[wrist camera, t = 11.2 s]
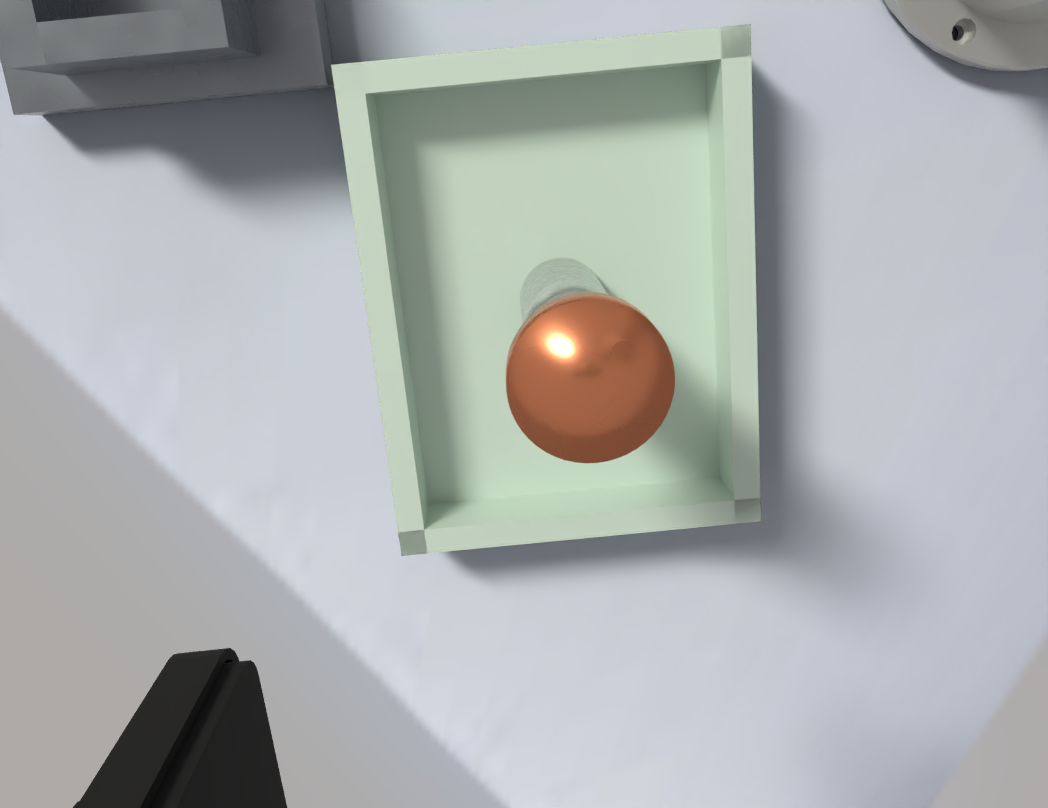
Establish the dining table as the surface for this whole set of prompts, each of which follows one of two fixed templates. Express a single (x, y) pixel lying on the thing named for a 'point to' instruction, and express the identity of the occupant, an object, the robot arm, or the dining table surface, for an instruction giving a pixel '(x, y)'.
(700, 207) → the tray
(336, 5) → the dining table surface
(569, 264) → the lock pin
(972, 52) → the robot arm
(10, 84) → the bracket
